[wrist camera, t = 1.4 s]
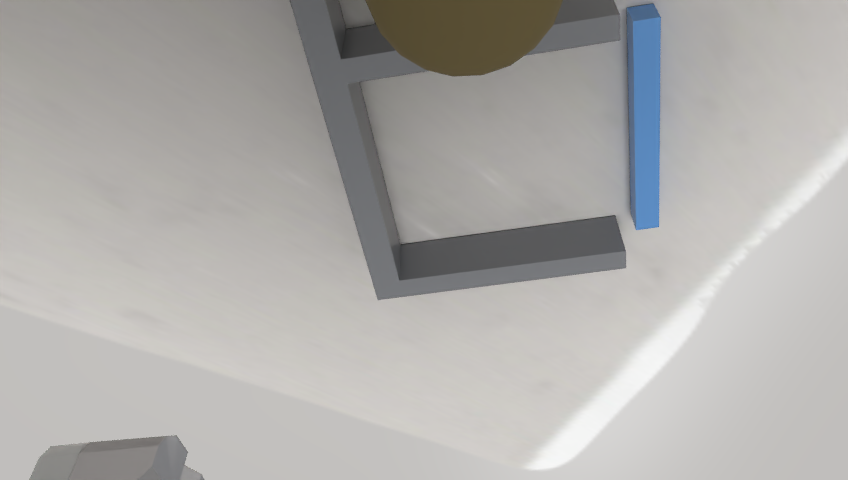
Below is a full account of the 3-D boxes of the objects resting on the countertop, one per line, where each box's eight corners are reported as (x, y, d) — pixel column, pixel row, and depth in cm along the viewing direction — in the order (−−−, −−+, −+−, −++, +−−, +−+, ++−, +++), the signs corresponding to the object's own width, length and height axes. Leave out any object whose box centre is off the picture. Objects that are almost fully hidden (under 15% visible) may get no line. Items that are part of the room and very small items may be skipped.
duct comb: (380, 263, 39) (377, 299, 37) (222, -299, 25) (205, -287, 23) (653, 227, 38) (665, 263, 36) (654, -392, 23) (675, -389, 21)
